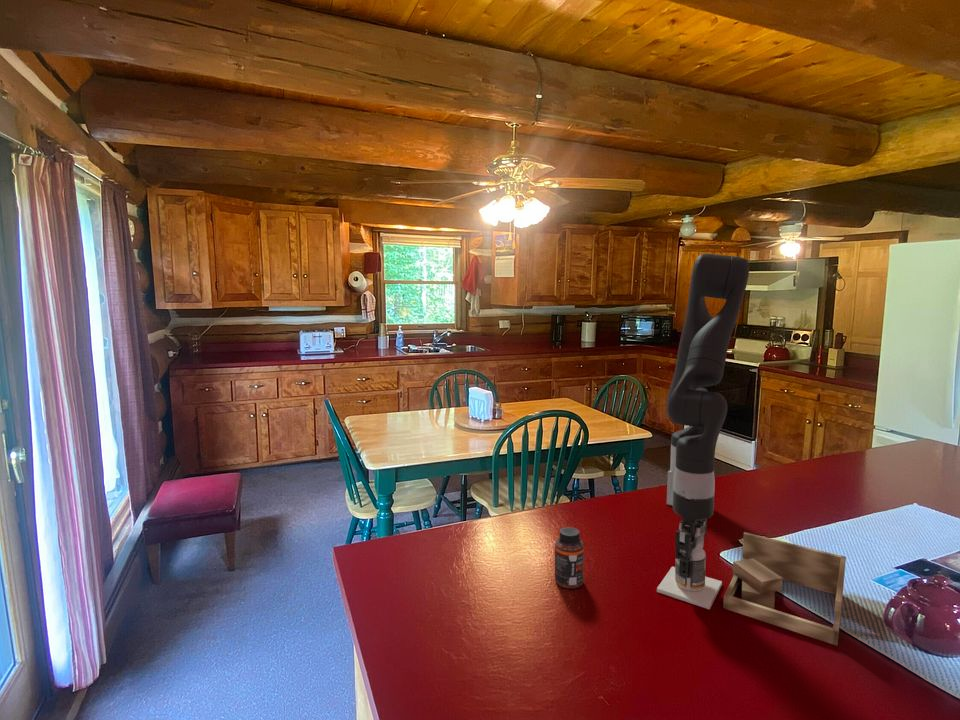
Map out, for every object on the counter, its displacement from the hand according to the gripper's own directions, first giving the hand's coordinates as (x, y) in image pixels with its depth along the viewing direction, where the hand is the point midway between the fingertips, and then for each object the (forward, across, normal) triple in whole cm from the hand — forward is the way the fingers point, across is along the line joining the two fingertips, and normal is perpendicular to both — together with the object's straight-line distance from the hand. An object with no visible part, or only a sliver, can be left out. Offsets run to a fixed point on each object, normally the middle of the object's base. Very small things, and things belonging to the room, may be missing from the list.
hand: (690, 568), depth 105 cm
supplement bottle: (+5, +12, -21) cm, 25 cm away
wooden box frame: (+4, -6, +16) cm, 18 cm away
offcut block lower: (+5, -6, +11) cm, 14 cm away
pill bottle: (+4, 0, 0) cm, 4 cm away
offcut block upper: (+2, -6, +11) cm, 13 cm away
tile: (+4, 0, 0) cm, 4 cm away
